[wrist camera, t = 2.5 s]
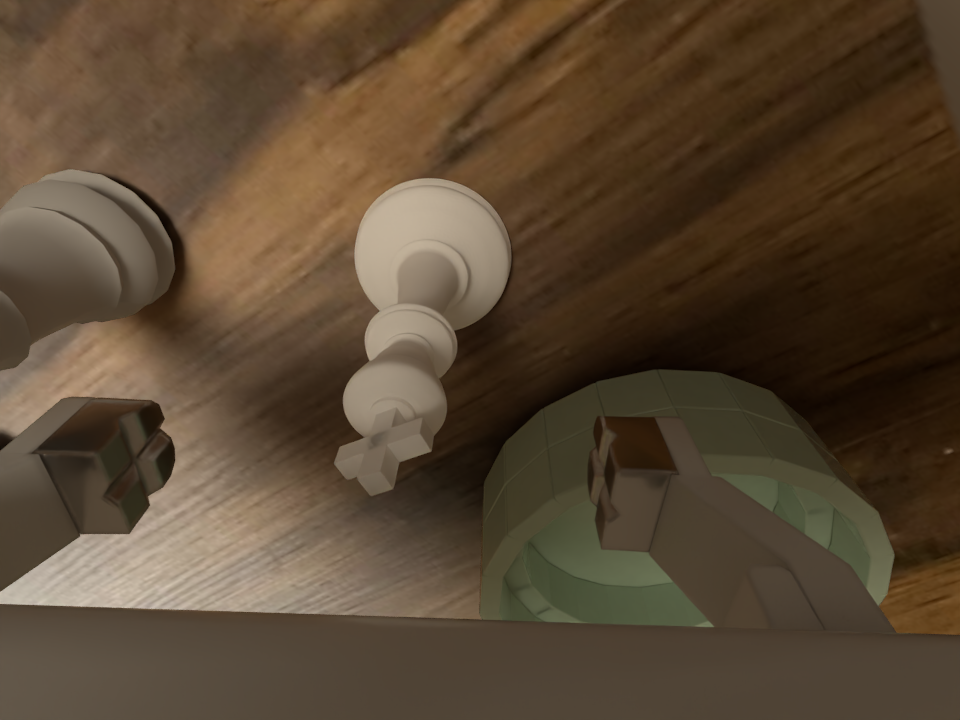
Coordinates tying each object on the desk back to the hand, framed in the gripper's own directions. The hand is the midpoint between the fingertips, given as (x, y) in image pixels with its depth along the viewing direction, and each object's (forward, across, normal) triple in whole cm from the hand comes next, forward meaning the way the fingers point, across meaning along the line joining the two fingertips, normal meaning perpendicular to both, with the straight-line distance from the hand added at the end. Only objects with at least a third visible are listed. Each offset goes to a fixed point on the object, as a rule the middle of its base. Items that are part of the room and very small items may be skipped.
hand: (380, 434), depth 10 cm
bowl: (+8, -9, +10) cm, 16 cm away
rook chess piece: (+9, +10, -1) cm, 13 cm away
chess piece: (+9, 0, 0) cm, 9 cm away
